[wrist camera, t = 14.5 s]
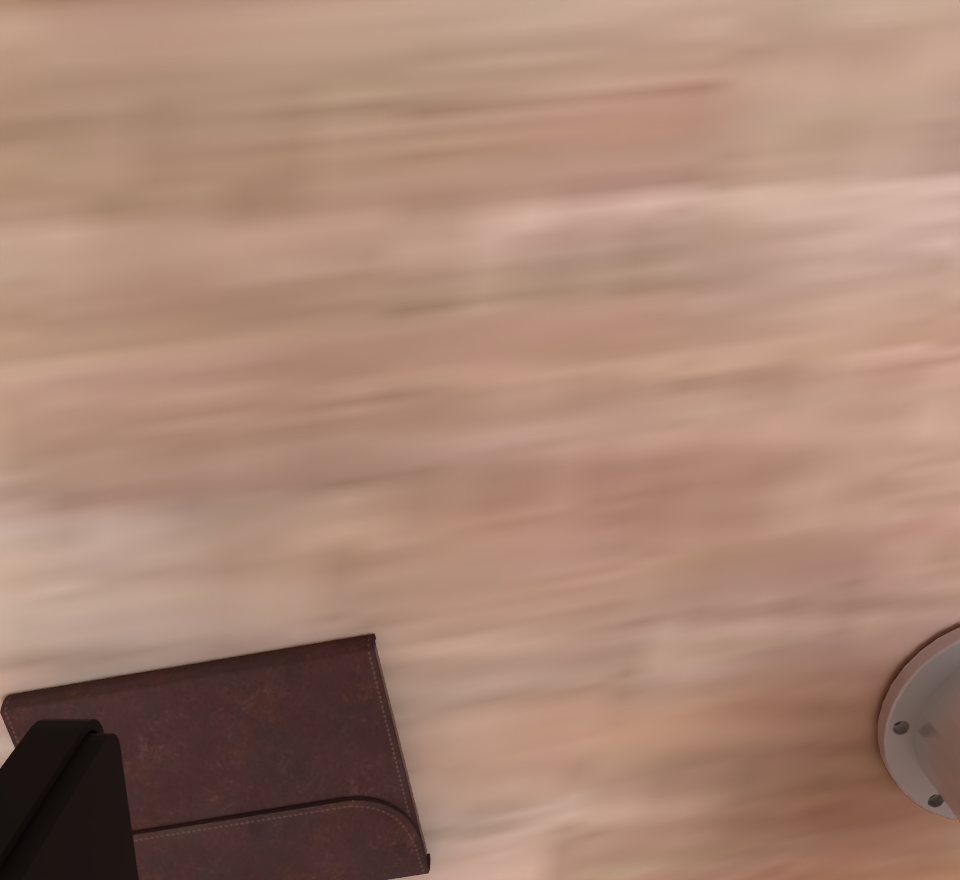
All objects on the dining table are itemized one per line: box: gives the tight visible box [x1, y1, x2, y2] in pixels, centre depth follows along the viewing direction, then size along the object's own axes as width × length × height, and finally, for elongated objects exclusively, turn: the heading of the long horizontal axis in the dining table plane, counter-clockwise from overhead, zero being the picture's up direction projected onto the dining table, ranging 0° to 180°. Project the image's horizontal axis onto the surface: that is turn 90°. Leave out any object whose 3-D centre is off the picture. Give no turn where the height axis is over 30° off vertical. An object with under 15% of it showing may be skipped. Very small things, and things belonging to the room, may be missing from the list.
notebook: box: [0, 634, 430, 880], centre depth 48 cm, size 15×20×2 cm
